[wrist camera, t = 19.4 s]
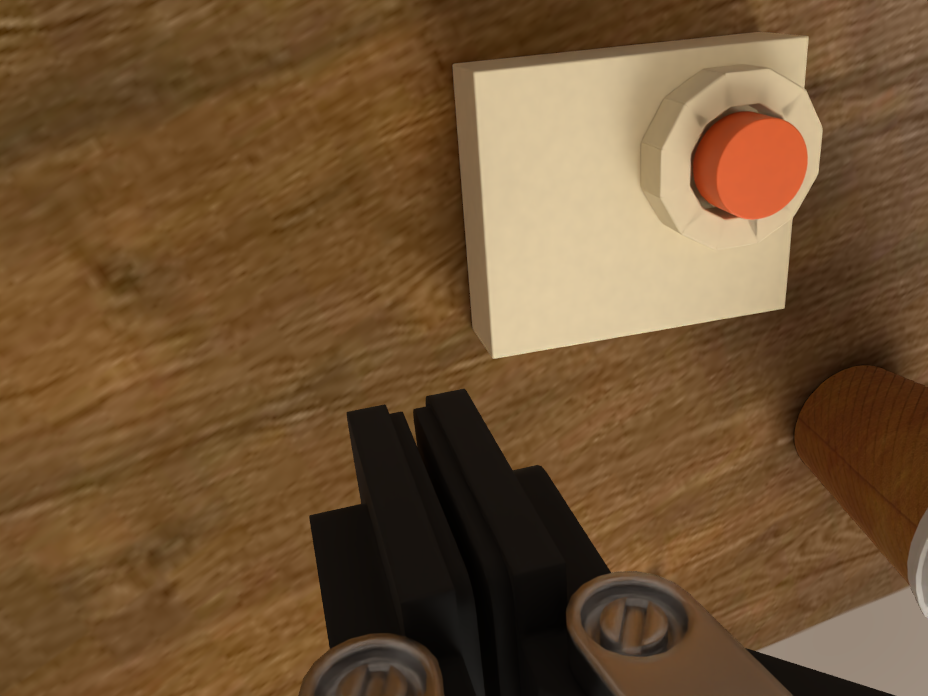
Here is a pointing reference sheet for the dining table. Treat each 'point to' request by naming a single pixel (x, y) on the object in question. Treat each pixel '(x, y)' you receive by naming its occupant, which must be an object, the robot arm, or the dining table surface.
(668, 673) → the robot arm
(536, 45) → the dining table surface
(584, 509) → the dining table surface
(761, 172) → the button
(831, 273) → the dining table surface
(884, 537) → the disposable coffee cup
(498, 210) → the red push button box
